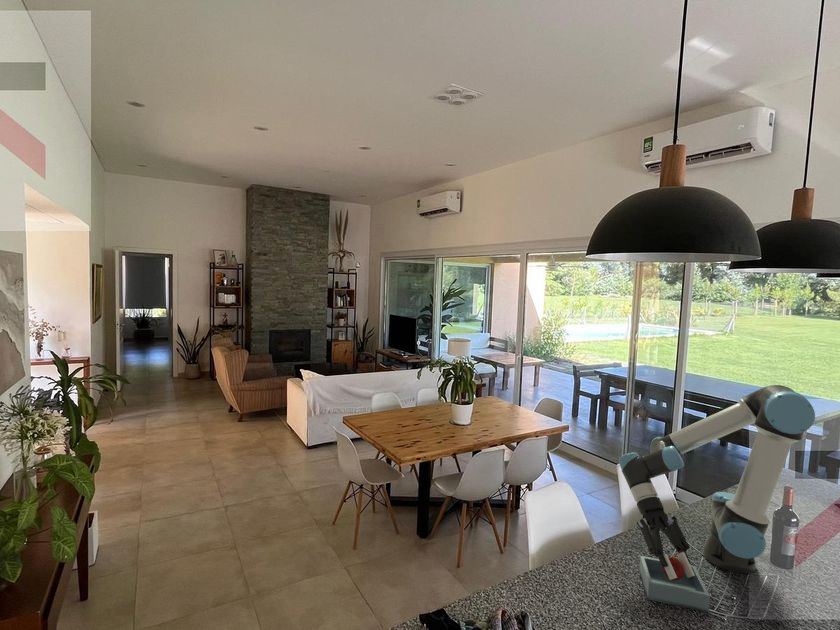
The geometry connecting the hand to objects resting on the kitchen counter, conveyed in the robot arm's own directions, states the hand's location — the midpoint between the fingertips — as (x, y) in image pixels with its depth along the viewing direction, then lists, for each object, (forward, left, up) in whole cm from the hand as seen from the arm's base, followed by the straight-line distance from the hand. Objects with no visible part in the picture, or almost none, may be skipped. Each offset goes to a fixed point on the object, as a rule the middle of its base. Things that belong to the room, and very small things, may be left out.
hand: (682, 577), depth 136 cm
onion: (+2, -3, -4) cm, 5 cm away
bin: (+2, -3, -6) cm, 7 cm away
